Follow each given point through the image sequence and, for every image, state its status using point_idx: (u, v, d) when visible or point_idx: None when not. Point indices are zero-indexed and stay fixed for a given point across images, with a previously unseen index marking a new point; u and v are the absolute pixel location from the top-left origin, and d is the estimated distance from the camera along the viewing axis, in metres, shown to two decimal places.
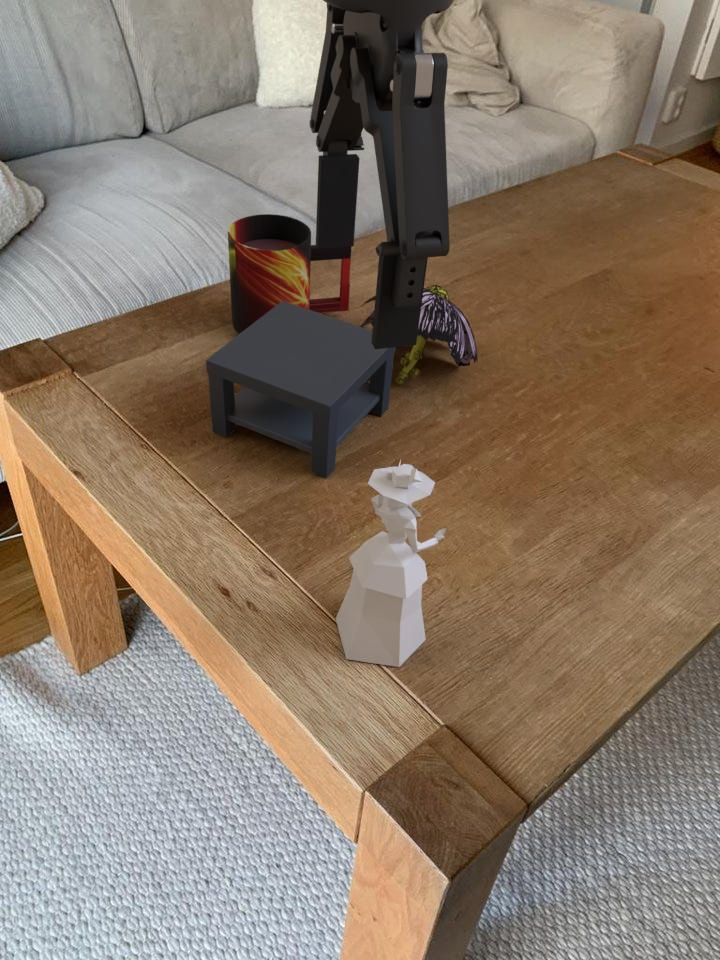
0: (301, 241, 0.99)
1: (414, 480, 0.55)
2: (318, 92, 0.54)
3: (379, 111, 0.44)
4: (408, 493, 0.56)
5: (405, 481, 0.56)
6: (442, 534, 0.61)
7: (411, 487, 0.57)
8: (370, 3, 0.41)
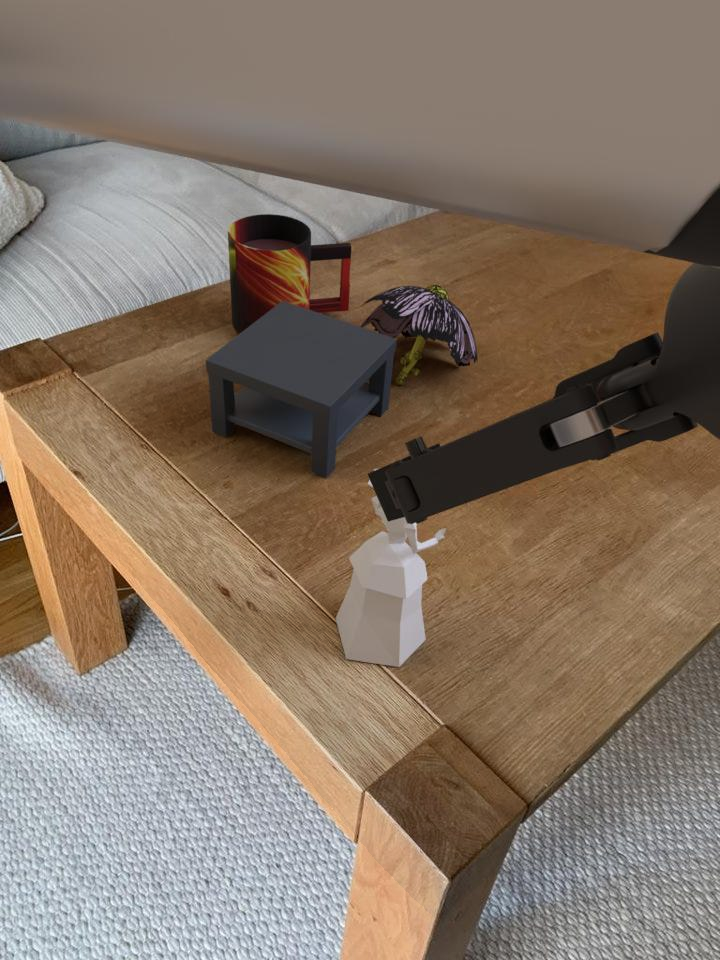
0: (301, 241, 0.99)
1: None
2: None
3: None
4: None
5: None
6: (442, 534, 0.61)
7: None
8: (669, 328, 0.28)
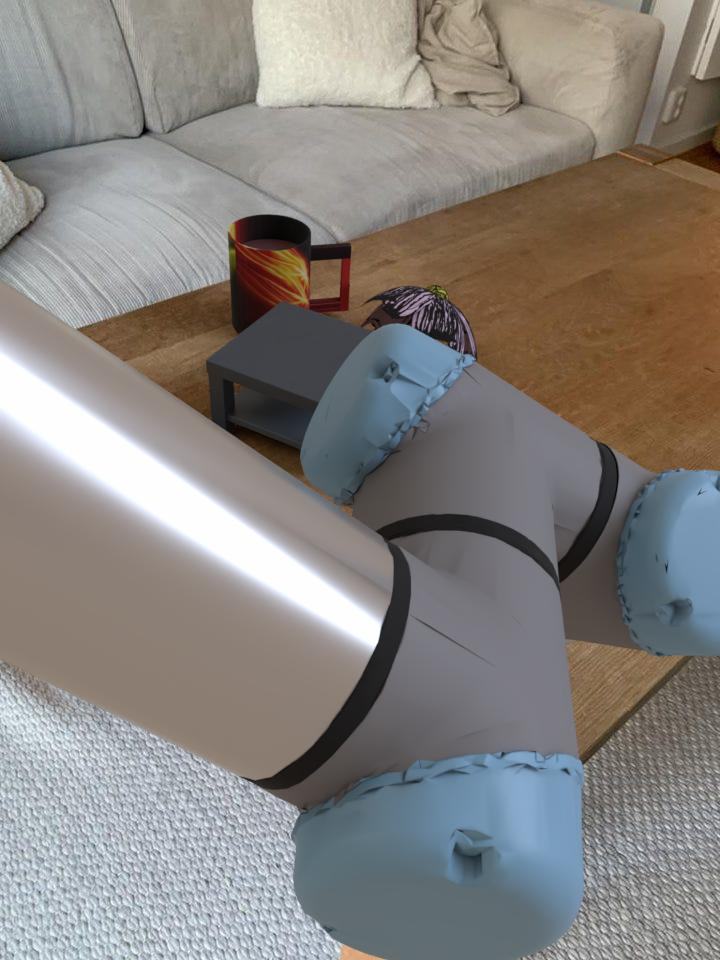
0: (301, 241, 0.99)
1: None
2: None
3: None
4: None
5: None
6: None
7: None
8: None
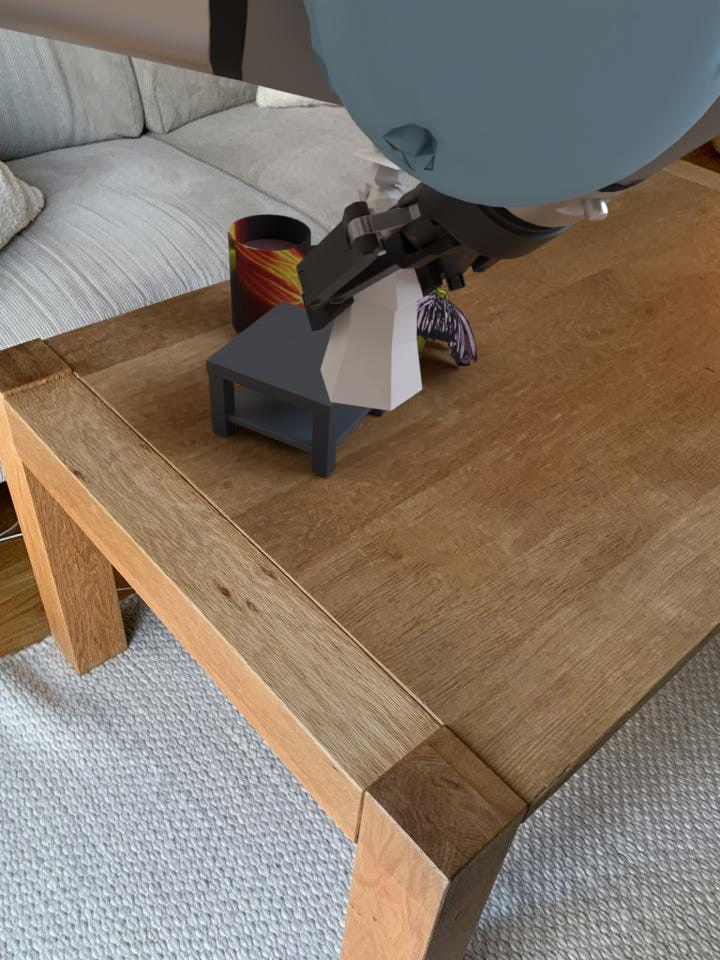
0: (301, 241, 0.99)
1: None
2: None
3: None
4: None
5: None
6: None
7: None
8: None
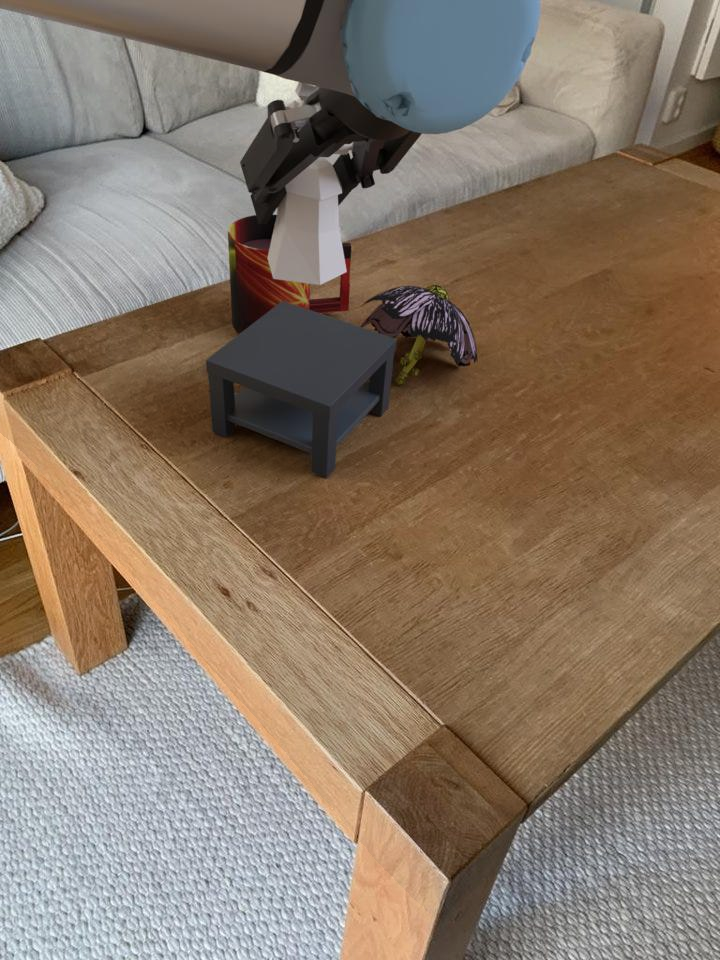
0: None
1: None
2: None
3: None
4: None
5: None
6: None
7: None
8: None
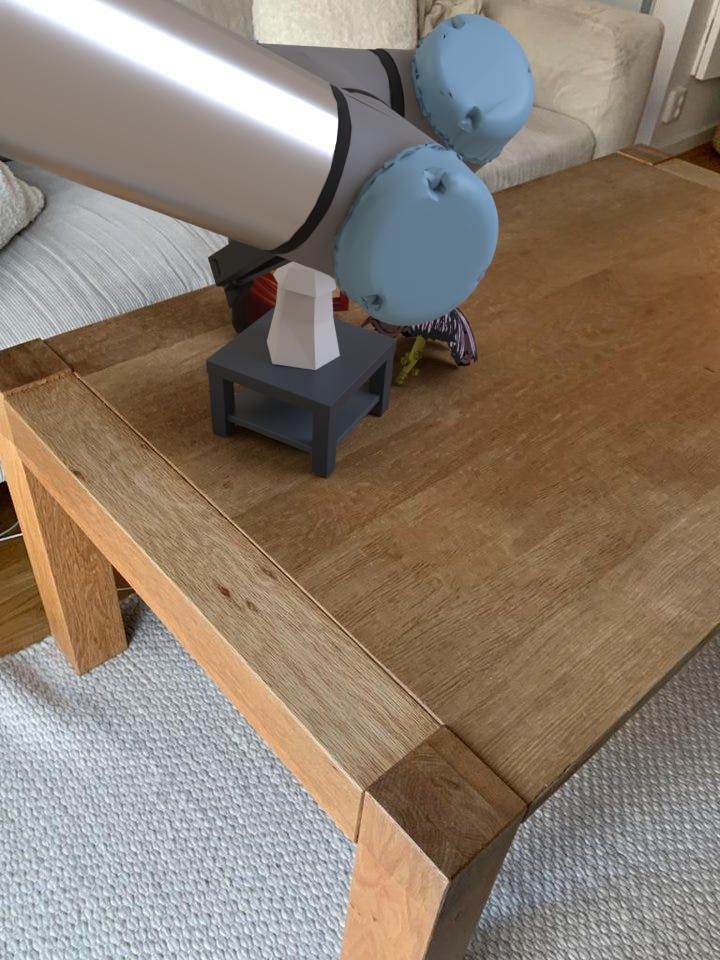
0: None
1: None
2: None
3: None
4: None
5: None
6: None
7: None
8: None
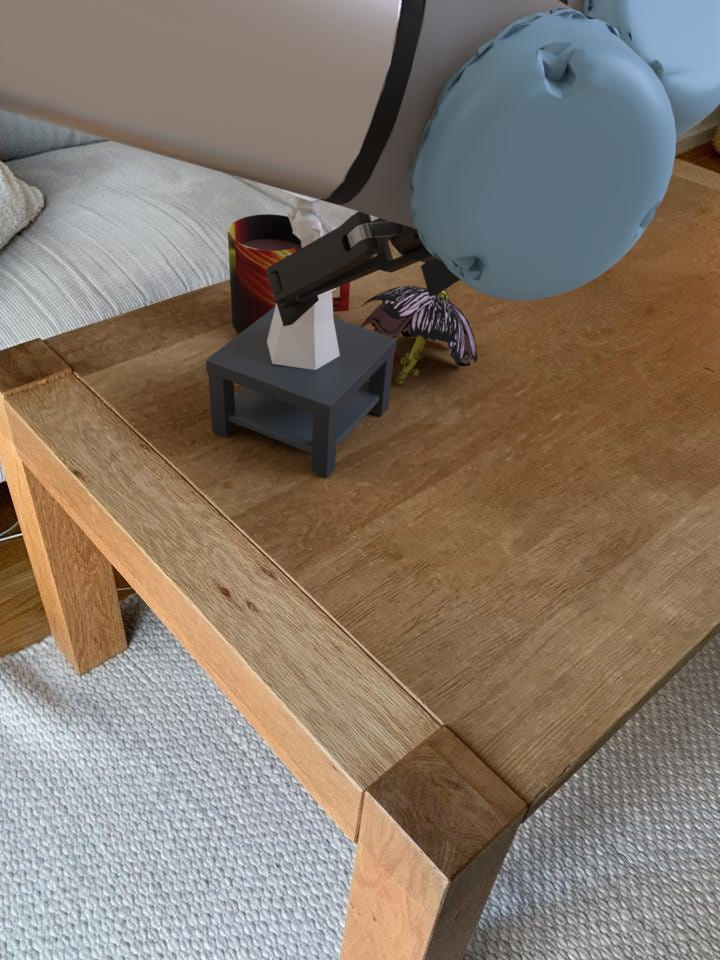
0: None
1: None
2: None
3: None
4: None
5: None
6: None
7: None
8: None
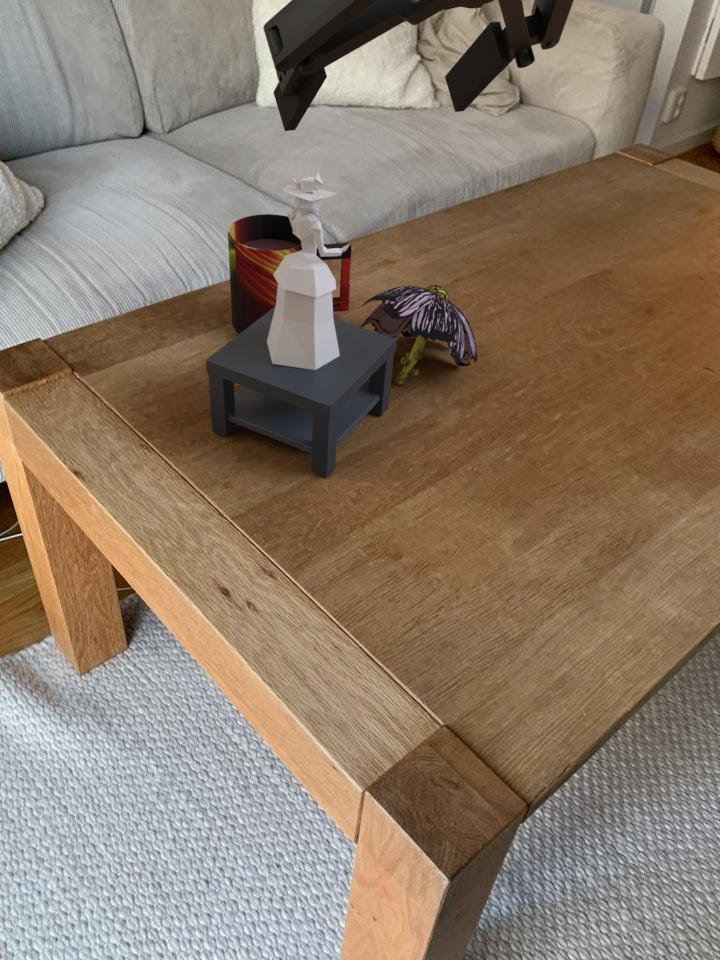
0: None
1: (316, 181, 0.70)
2: None
3: None
4: (312, 195, 0.71)
5: (310, 186, 0.71)
6: (346, 247, 0.75)
7: (315, 192, 0.71)
8: None
